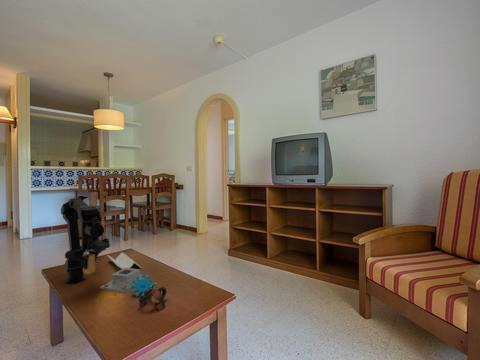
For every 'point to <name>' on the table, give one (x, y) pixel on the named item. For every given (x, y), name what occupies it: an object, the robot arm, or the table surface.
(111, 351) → the table surface
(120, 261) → the z bracket
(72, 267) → the robot arm
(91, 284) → the table surface
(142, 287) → the gear
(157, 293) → the dark brown loop tangle
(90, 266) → the wedge pin
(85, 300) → the table surface
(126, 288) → the bracket collar
